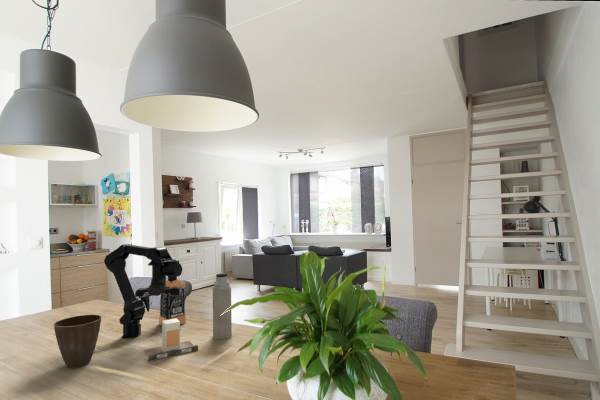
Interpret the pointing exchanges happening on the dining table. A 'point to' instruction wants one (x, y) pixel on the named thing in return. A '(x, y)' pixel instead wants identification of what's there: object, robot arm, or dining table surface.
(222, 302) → the thermos bottle
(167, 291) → the robot arm
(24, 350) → the dining table surface
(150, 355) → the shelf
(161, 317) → the whiskey bottle
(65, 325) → the plant pot
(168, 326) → the carton
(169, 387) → the dining table surface
